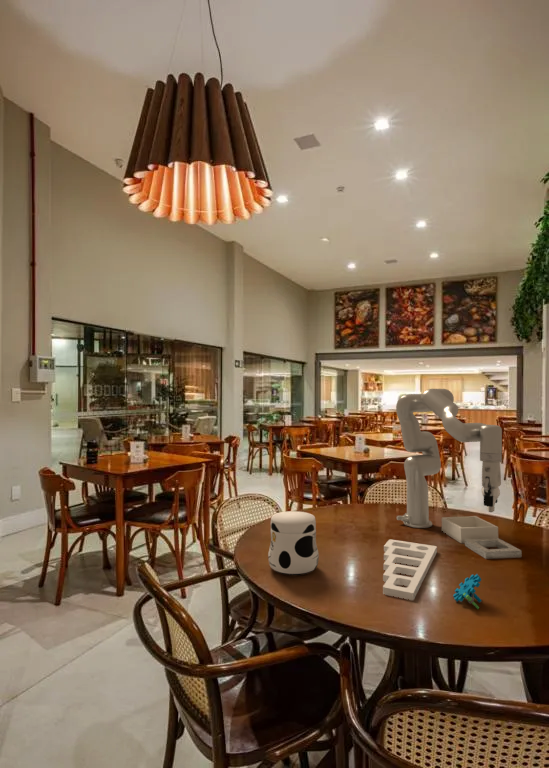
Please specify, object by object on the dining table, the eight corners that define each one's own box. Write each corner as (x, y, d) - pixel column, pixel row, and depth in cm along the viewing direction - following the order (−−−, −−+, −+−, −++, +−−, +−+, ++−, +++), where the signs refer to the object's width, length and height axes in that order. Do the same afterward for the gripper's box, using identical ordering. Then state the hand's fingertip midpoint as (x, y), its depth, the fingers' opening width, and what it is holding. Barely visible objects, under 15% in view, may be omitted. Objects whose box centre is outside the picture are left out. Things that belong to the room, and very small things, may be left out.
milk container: (260, 564, 158) (260, 513, 158) (304, 557, 165) (304, 508, 165) (280, 583, 142) (280, 527, 142) (328, 574, 149) (327, 520, 149)
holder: (413, 602, 130) (413, 593, 130) (353, 589, 139) (353, 581, 139) (436, 553, 170) (436, 546, 170) (389, 545, 178) (389, 539, 178)
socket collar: (485, 558, 162) (485, 552, 162) (465, 545, 176) (465, 539, 176) (521, 557, 164) (521, 550, 164) (498, 544, 178) (498, 538, 178)
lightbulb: (503, 513, 169) (503, 484, 169) (492, 515, 167) (492, 485, 167) (489, 508, 175) (489, 480, 175) (477, 510, 172) (477, 482, 172)
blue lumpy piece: (452, 585, 137) (477, 567, 133) (467, 600, 135) (493, 582, 132) (450, 605, 127) (477, 586, 123) (466, 622, 125) (494, 603, 122)
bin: (461, 543, 179) (460, 528, 179) (441, 531, 195) (441, 517, 195) (498, 541, 181) (498, 526, 181) (476, 529, 197) (476, 516, 197)
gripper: (496, 461, 162) (496, 510, 162) (506, 455, 175) (506, 501, 175) (474, 459, 166) (474, 507, 166) (485, 453, 180) (485, 498, 180)
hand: (490, 503), depth 171 cm, fingers closed on lightbulb, 6 cm apart
